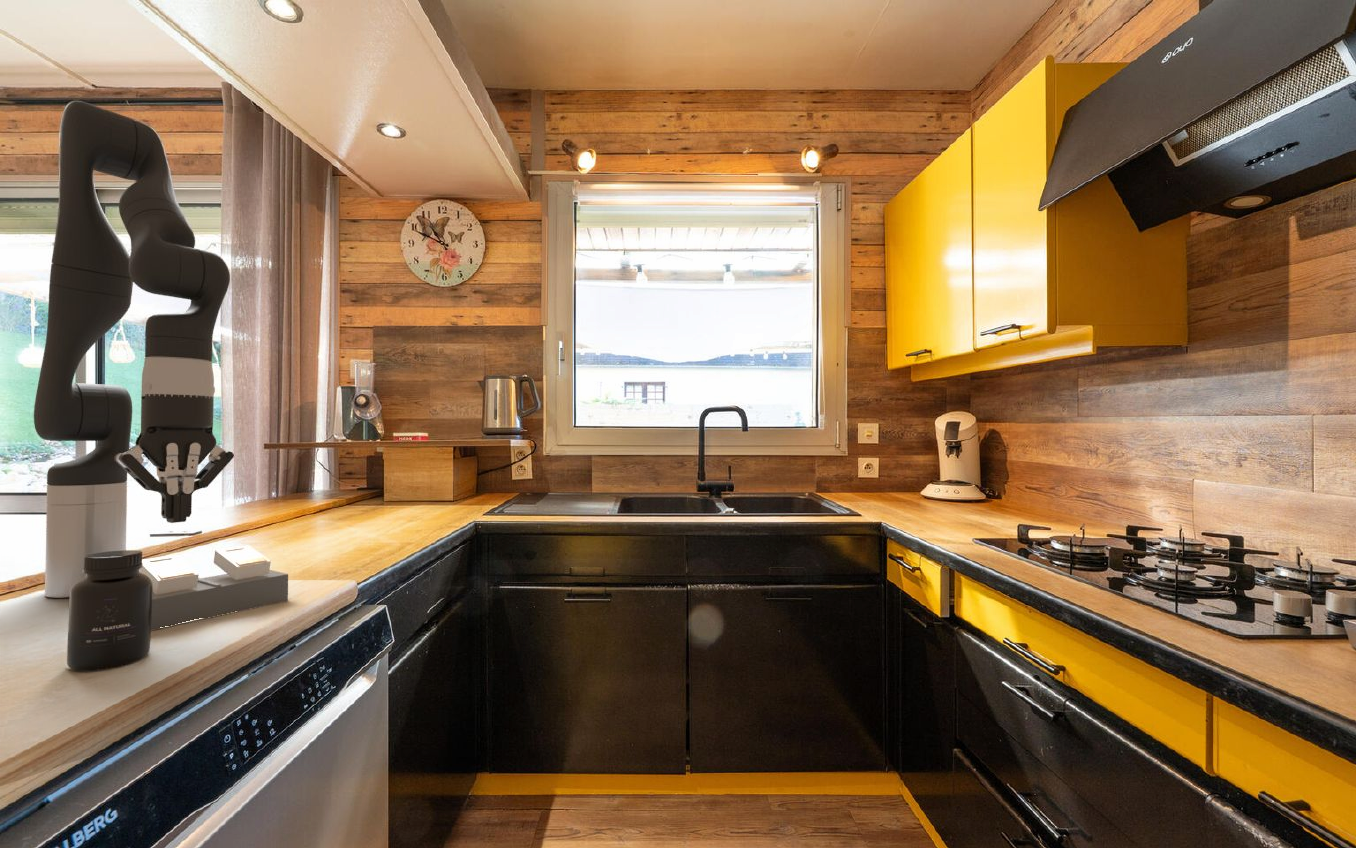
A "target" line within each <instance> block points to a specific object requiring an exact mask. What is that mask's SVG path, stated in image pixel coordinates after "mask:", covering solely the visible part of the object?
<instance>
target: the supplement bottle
mask: <svg viewBox="0 0 1356 848" xmlns="http://www.w3.org/2000/svg"><path fill="white" fill-rule="evenodd" d="M142 560H143V551H141V550H136V549H134V550H133V549H131V550H130V549H128V550H127V549H126V550H122V551H109V552H101V553H95V554H90V555H87V556H85V558H84V568H83V573H84V574H86V578H84V579H83V580H81V581H79V582H78V583H76V584H75V585H74V586H73V587H72V589H71V591H70V597H69V600H68V601H69V603H68V605H69V606H68V625H67V626H68V627H67V630H68V631H67V647H66V651H67V652H66V655H67V656H66V664H67V667H68V668H69V669H71V670H72V671H77V672H95V671H104V670H108V669H113V668H119V667H123V666H127V665H130V663H131V664H133V663H136V662H138V661H140V660H143V659H144V658H145V657H147V656H148V655H149V653H150V650H151V638H152V637H151V636H152V635H151V634H152V631H151V616H152V591H153V582H152V580H151V578H150V577H149V576H147V575H145V574H143V573H140V568H142V567H143V563H142Z"/></svg>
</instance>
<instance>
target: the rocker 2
mask: <svg viewBox="0 0 1356 848" xmlns="http://www.w3.org/2000/svg"><path fill="white" fill-rule="evenodd" d="M213 563H214V565H215V566H217V567H218V568H219V569H221V570H222V571H223V572H224V573H225V574H228V575H230V576H231V577H232V578H233V579H235V580H238V579H244V578H249V577H255V576H260V575H266V574H269V570H271V569H270V568H271V560H269V558H267V557H265V556H264V555H263V554H262V553H260V552H258V551H257V550H256V549H254V548H253V547H251V546H250V545H248V544H247V545H242V546H236V547H228V548H221V549H220V548H219V549H216V550H215V551H214V557H213Z"/></svg>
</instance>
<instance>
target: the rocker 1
mask: <svg viewBox="0 0 1356 848" xmlns="http://www.w3.org/2000/svg"><path fill="white" fill-rule="evenodd" d="M142 563H143V567H142V568H140V573H143V574H145V575H147V576H149V577H150V578H151V580H152V582H153V592H154V593H155V594H156V595H159V594H164V593H170V592H175V591H181V590H186V589H192V588H197V583H198V578H199V573H198V571H197V570H195V569H194V568H193V567H192V566H191V565H189V564H188V563H187V562H186V561H185V560H184V559H183V558H182V557H181V556H180V555H179V554H174V555H167V556H158V557H152V558H144V559H142Z"/></svg>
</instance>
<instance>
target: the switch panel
mask: <svg viewBox="0 0 1356 848" xmlns="http://www.w3.org/2000/svg"><path fill="white" fill-rule="evenodd" d="M288 595H289V574H288V573H284V572H280V571H276V570H272V569H270V570H269V574H266V575H260V576H255V577H249V578H244V579H238V580H235V579H233V578H232V577H231V576H230V575H228V574H227V573H224V574H218V575H213V576H207V577H202V578H201V577H198V583H197V588H192V589H186V590H181V591H175V592H170V593H164V594H159V595H156V594H155V593H154V592H153V591H152V616H151V630H152V631H154V630H153V629H157V630H159V629H158V628H160V627H165V626H170V627H172V626H171V625H175V624H178V623H182V622H186V621H190V620H194V619H199V618H206V619H209V618H208V617H211V618H214V617H213V616H216V617H218V616H217V615H220V616H223V615H222V614H225V615H228V614H227V613H229V614H232V613H231V612H234V613H236V612H235V611H238V612H241V611H242V610H243V611H246V610H250V608H252V609H256V608H259V606H261V607H265V606H268V605H269V604H270V605H273V604H278V603H282V602H288V600H289V596H288ZM255 607H256V608H255ZM175 626H176V625H175Z"/></svg>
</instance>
